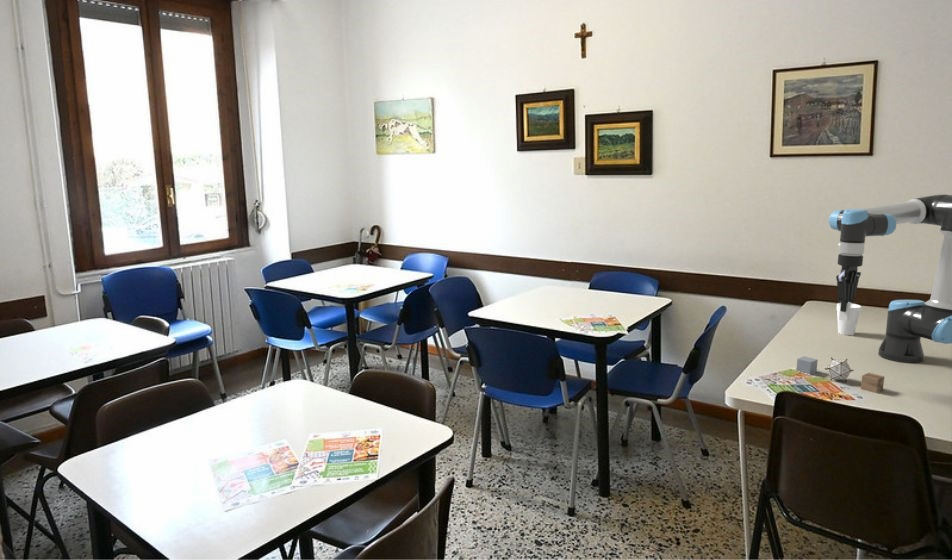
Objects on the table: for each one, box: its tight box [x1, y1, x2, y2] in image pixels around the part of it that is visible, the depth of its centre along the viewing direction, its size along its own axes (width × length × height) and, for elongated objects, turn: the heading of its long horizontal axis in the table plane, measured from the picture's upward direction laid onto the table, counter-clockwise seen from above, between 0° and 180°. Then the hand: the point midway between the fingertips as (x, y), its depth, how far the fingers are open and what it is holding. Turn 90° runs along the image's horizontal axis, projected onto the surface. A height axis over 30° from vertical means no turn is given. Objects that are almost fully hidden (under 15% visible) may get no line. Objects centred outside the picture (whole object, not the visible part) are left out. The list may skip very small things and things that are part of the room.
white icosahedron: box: [824, 357, 854, 383], centre depth 236 cm, size 9×8×10 cm
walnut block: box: [860, 372, 885, 394], centre depth 227 cm, size 5×5×5 cm
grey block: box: [796, 355, 819, 375], centre depth 245 cm, size 5×5×5 cm
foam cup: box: [836, 302, 862, 336], centre depth 292 cm, size 10×9×13 cm
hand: (844, 320), depth 232 cm, fingers closed
